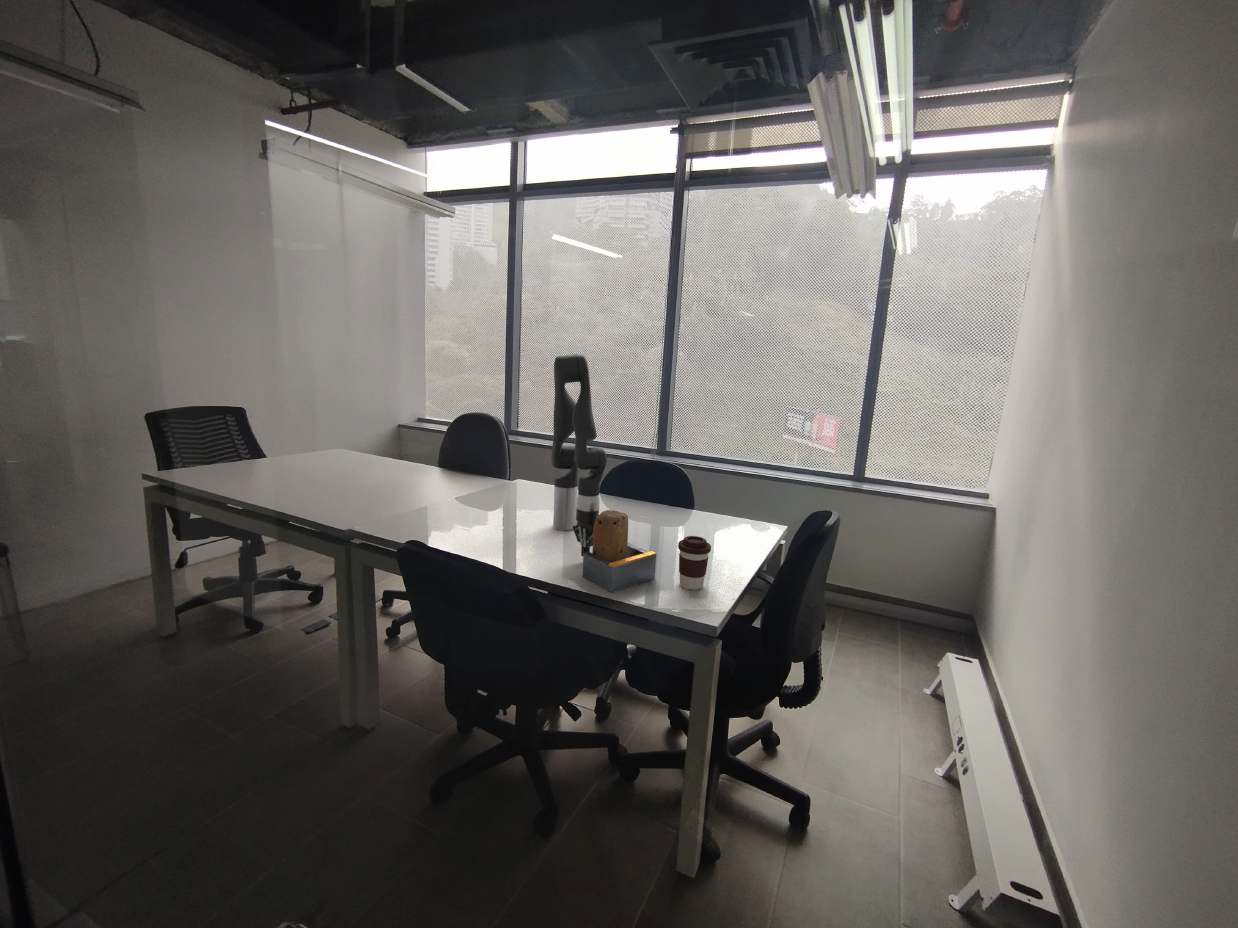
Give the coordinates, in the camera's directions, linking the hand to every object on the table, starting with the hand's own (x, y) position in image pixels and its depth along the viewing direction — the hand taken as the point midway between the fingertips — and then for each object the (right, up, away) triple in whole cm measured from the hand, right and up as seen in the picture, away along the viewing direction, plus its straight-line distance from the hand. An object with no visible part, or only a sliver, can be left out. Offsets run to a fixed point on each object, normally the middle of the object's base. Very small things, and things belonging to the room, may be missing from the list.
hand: (585, 556), depth 179 cm
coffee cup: (+34, -7, -15) cm, 37 cm away
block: (+8, -4, -8) cm, 12 cm away
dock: (+11, -5, -11) cm, 16 cm away
